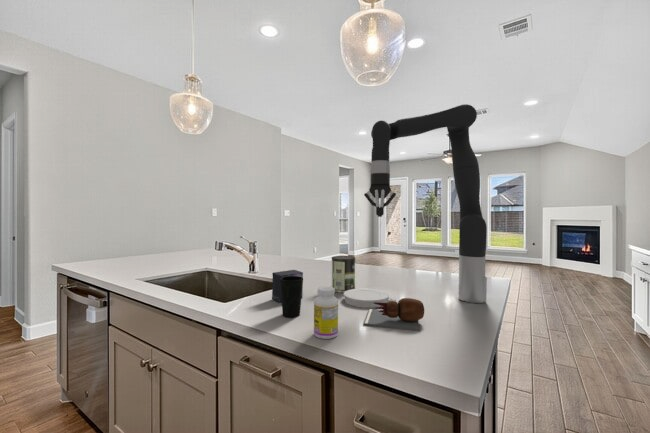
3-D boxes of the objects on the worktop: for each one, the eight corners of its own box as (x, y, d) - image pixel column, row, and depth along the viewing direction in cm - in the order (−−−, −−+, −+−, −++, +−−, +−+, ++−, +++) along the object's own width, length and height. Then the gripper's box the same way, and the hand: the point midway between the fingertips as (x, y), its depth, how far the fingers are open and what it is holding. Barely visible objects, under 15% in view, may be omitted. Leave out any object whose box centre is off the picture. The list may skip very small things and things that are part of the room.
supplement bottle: (313, 330, 88) (313, 285, 88) (336, 330, 89) (336, 285, 88) (314, 340, 81) (314, 291, 81) (339, 339, 82) (339, 291, 82)
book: (417, 314, 102) (417, 313, 102) (419, 330, 88) (419, 328, 88) (368, 310, 106) (368, 308, 106) (363, 325, 92) (363, 323, 92)
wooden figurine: (420, 296, 98) (372, 295, 98) (426, 301, 92) (375, 301, 92) (420, 317, 98) (372, 316, 98) (425, 324, 92) (375, 323, 92)
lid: (402, 308, 110) (402, 300, 110) (346, 309, 109) (346, 300, 108) (389, 295, 127) (389, 288, 127) (340, 295, 126) (340, 288, 126)
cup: (284, 320, 96) (284, 281, 96) (276, 313, 103) (276, 277, 103) (306, 316, 100) (307, 279, 99) (297, 309, 106) (297, 275, 106)
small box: (280, 303, 114) (280, 275, 114) (271, 299, 119) (271, 272, 119) (303, 298, 121) (303, 271, 121) (293, 294, 126) (293, 269, 126)
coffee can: (354, 286, 140) (354, 255, 139) (356, 292, 129) (356, 259, 129) (331, 286, 140) (331, 255, 140) (331, 292, 130) (331, 259, 129)
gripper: (397, 173, 125) (397, 216, 125) (364, 174, 128) (364, 216, 129) (397, 171, 118) (396, 217, 118) (362, 172, 121) (362, 216, 121)
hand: (379, 216), depth 123 cm, fingers closed
